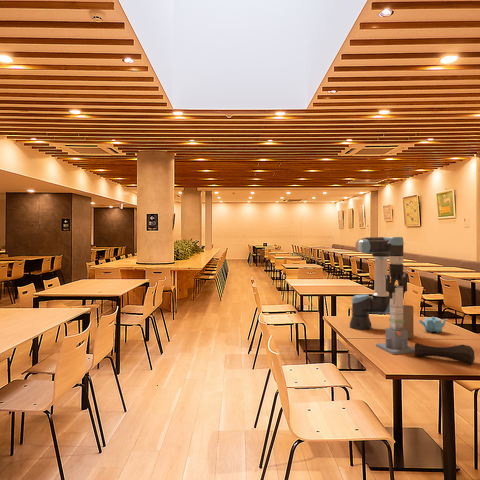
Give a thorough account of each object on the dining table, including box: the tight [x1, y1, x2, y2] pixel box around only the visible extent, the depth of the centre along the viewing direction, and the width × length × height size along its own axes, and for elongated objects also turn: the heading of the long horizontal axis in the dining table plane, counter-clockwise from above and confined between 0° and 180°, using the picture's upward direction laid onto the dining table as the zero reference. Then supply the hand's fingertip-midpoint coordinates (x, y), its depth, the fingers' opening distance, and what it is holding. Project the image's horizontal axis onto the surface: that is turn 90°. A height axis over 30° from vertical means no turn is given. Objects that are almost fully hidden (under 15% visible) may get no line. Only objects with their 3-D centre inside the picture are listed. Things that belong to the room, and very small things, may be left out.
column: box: [388, 284, 404, 331], centre depth 214 cm, size 6×6×27 cm
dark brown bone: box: [413, 342, 476, 366], centre depth 195 cm, size 11×10×28 cm
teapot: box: [418, 316, 449, 334], centre depth 254 cm, size 18×14×10 cm
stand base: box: [375, 327, 415, 355], centre depth 214 cm, size 16×16×12 cm
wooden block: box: [403, 304, 414, 340], centre depth 240 cm, size 10×10×20 cm
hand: (396, 303), depth 214 cm, fingers closed on column, 5 cm apart
